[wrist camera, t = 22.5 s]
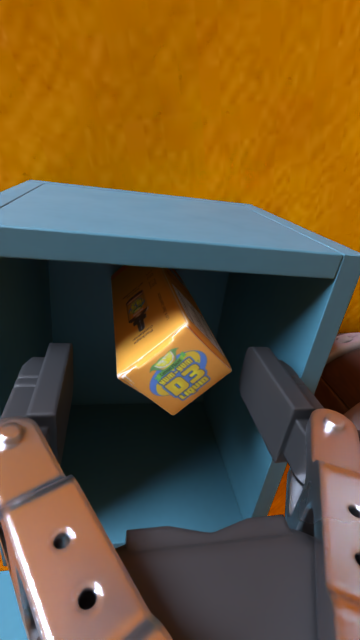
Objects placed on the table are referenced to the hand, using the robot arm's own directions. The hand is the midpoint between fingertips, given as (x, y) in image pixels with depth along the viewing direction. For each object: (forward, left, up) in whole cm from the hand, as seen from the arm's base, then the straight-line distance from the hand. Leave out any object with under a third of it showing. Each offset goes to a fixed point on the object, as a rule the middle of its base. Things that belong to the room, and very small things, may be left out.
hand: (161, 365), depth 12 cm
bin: (+3, -1, -10) cm, 11 cm away
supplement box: (0, 0, -10) cm, 10 cm away
